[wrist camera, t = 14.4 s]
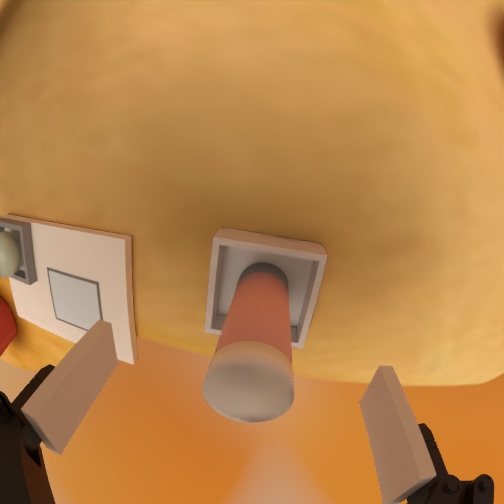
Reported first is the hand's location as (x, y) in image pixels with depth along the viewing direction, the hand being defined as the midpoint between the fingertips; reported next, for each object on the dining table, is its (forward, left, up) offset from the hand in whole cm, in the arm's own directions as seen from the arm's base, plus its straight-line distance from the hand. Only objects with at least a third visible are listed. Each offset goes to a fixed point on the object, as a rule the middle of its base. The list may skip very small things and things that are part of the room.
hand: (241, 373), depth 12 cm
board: (+5, -22, -12) cm, 25 cm away
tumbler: (0, 0, -11) cm, 11 cm away
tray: (0, 0, -12) cm, 12 cm away
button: (+2, -28, -9) cm, 29 cm away
